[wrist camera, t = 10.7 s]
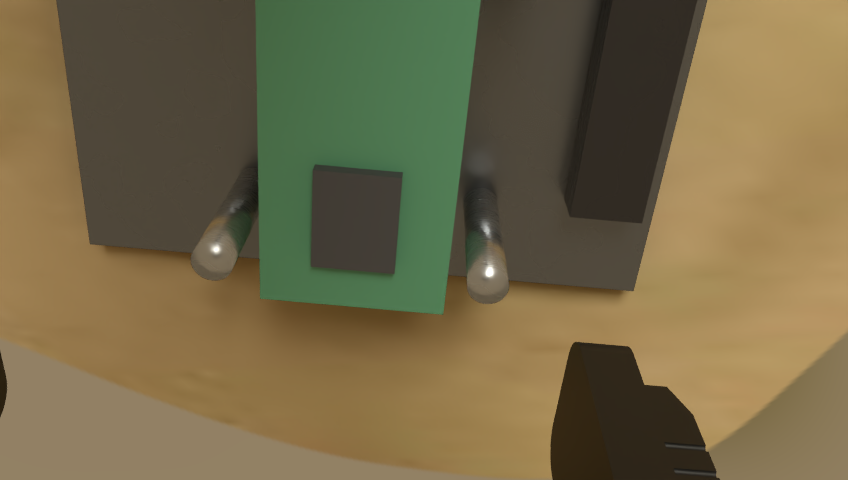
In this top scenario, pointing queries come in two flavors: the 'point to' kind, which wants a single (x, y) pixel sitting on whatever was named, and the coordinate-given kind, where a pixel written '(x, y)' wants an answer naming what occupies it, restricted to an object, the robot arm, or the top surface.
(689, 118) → the top surface
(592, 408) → the robot arm
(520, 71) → the chassis
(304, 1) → the board
